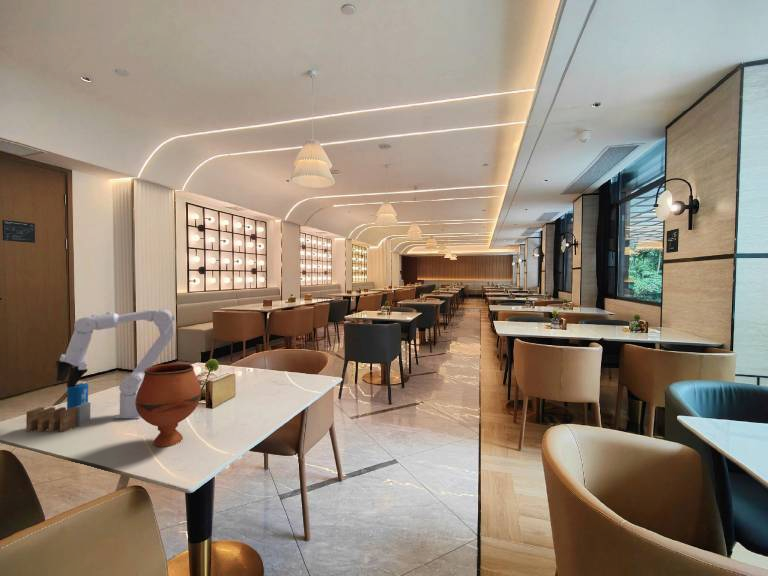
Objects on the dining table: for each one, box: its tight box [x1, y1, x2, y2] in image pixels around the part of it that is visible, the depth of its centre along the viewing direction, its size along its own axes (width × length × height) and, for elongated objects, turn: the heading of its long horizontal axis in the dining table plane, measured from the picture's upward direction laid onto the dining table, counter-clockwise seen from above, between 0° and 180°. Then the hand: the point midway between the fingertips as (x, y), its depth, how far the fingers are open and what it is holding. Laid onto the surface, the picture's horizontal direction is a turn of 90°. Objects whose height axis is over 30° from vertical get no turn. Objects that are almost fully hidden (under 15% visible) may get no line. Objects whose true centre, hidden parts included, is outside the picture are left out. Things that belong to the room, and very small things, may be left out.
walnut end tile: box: [25, 406, 45, 433], centre depth 128 cm, size 2×5×7 cm, turn 2°
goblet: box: [135, 363, 202, 448], centre depth 120 cm, size 19×19×25 cm
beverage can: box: [66, 380, 89, 410], centre depth 145 cm, size 6×6×12 cm
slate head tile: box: [76, 402, 91, 427], centre depth 134 cm, size 2×5×7 cm, turn 2°
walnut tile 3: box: [48, 406, 67, 433], centre depth 128 cm, size 2×5×7 cm, turn 2°
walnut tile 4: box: [37, 406, 56, 433], centre depth 128 cm, size 2×5×7 cm, turn 2°
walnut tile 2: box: [59, 407, 77, 433], centre depth 128 cm, size 2×5×7 cm, turn 2°
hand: (65, 383), depth 134 cm, fingers open, 7 cm apart
